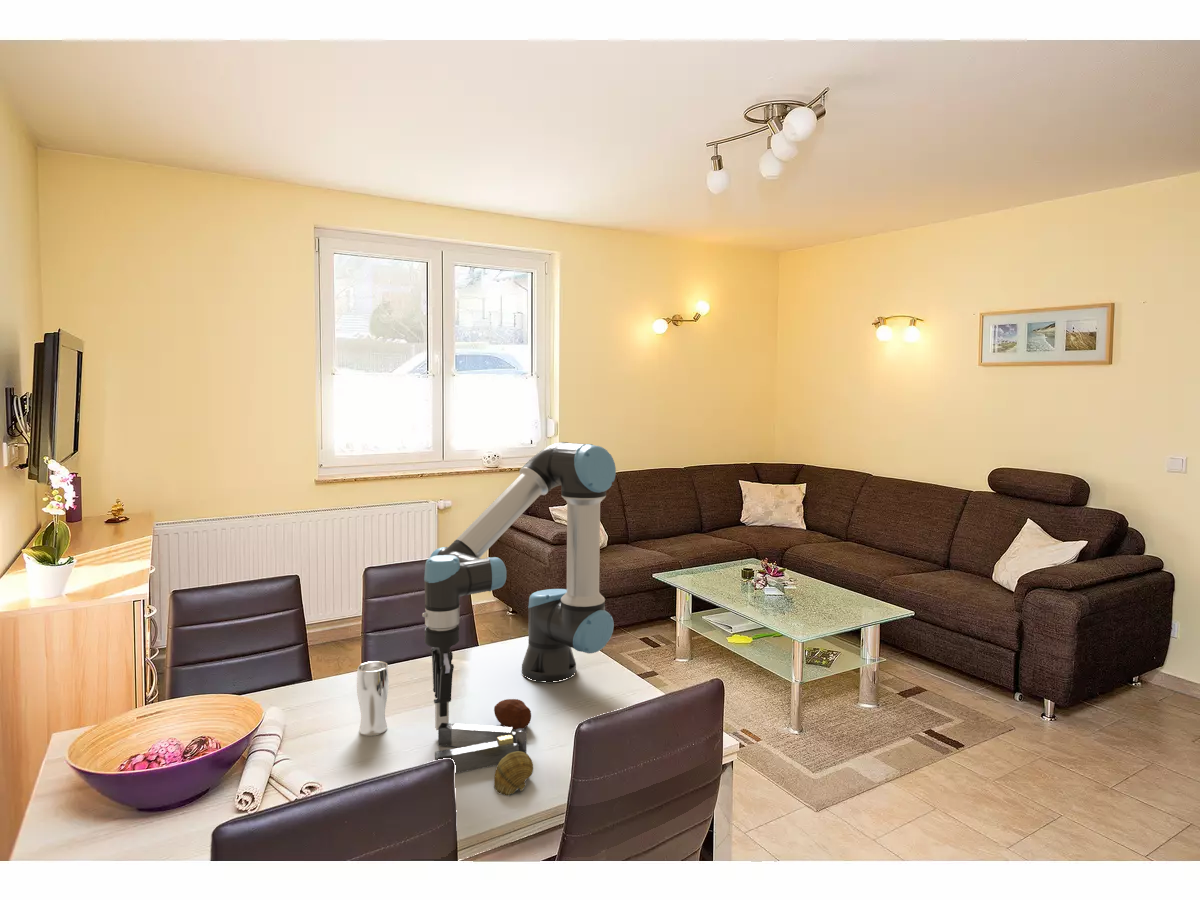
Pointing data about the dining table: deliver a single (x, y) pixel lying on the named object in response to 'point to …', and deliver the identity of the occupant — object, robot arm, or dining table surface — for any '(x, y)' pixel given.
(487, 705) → the dining table surface
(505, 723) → the potato
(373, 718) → the beer glass
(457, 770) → the tongs base
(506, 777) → the seashell
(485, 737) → the tong jaw
